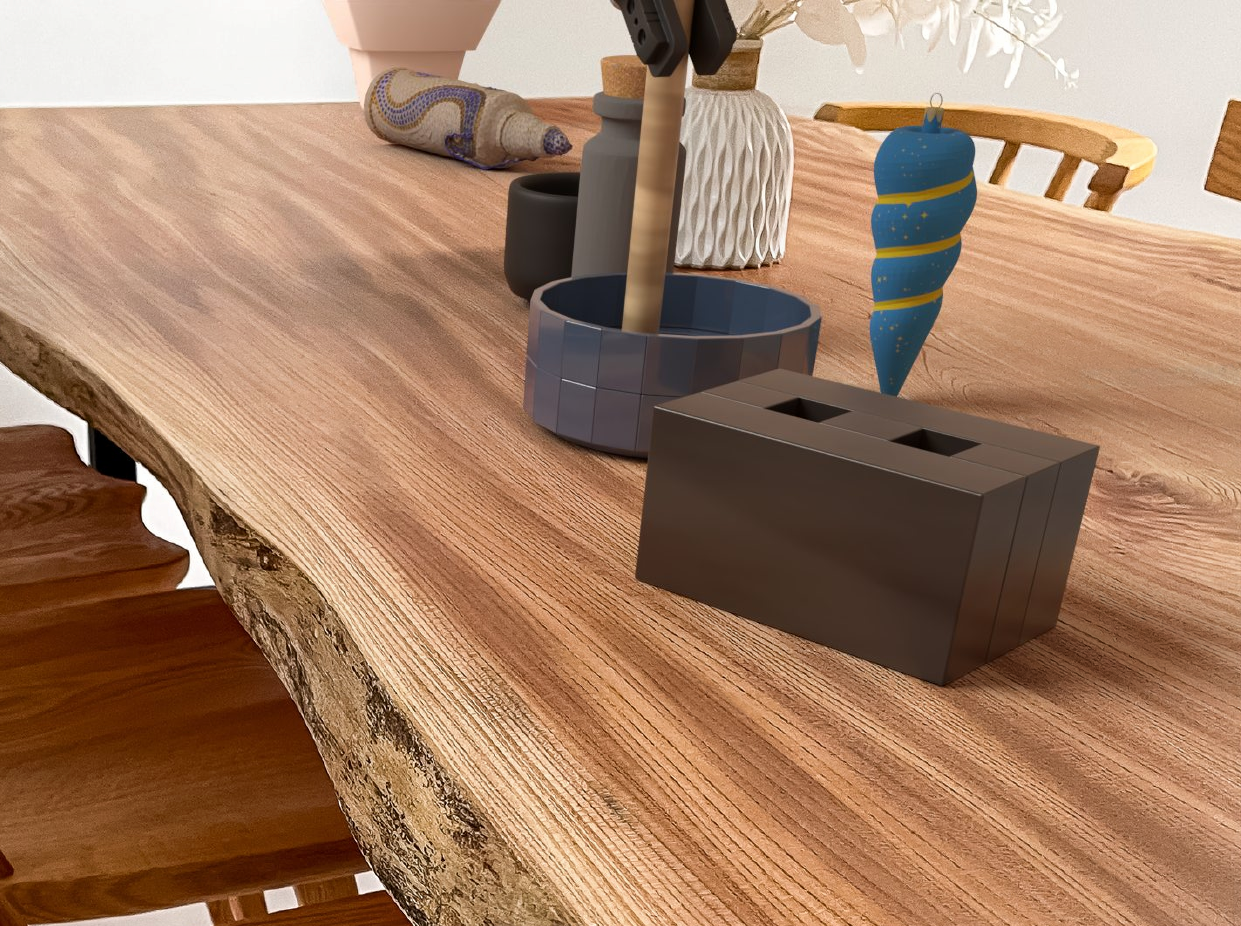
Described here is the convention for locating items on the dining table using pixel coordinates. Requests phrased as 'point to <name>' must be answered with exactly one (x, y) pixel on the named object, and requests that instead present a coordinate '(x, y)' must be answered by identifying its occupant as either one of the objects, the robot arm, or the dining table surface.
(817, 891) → the dining table surface
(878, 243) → the ornament
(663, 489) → the utensil block
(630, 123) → the bottle
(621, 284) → the mixing bowl
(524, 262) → the mug
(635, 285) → the stirring stick
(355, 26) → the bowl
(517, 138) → the decorative bottle
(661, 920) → the dining table surface
